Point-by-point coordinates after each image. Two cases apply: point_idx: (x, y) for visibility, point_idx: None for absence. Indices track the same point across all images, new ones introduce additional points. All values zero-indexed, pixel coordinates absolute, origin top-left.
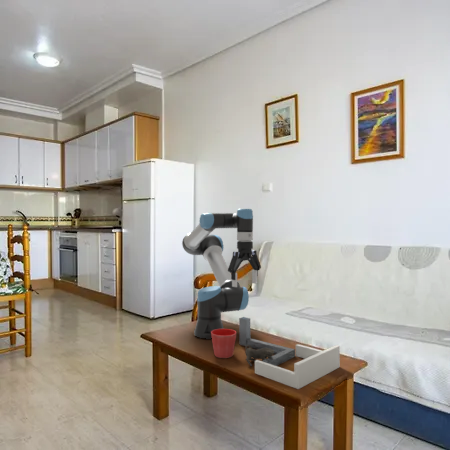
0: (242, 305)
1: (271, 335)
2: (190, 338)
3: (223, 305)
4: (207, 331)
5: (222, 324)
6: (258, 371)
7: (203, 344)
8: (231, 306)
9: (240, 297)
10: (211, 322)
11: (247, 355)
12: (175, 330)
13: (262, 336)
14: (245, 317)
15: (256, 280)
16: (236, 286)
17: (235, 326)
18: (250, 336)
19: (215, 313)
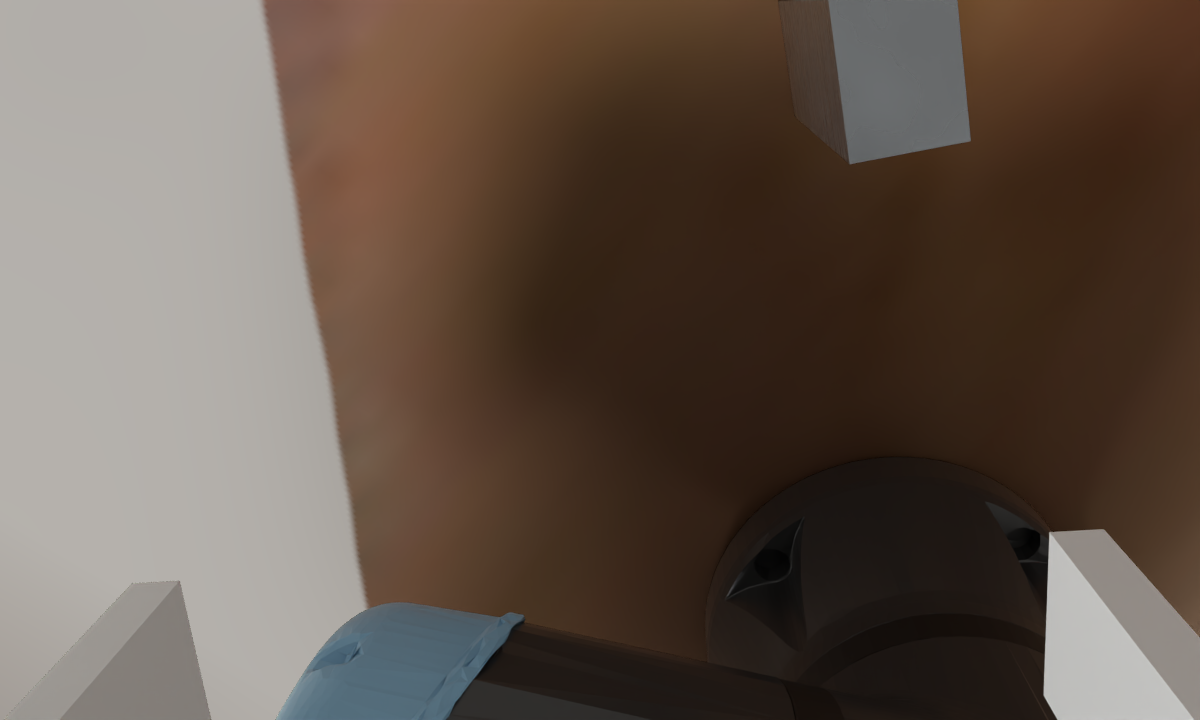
0: (481, 617)
1: (293, 134)
2: None
3: (869, 712)
4: (1028, 570)
5: (761, 614)
6: None
7: (1193, 385)
8: (699, 665)
9: (506, 712)
10: (1017, 609)
11: None
12: None
13: (418, 177)
14: (848, 111)
15: (112, 641)
16: (1093, 539)
17: None
18: (789, 1)
19: (991, 668)
